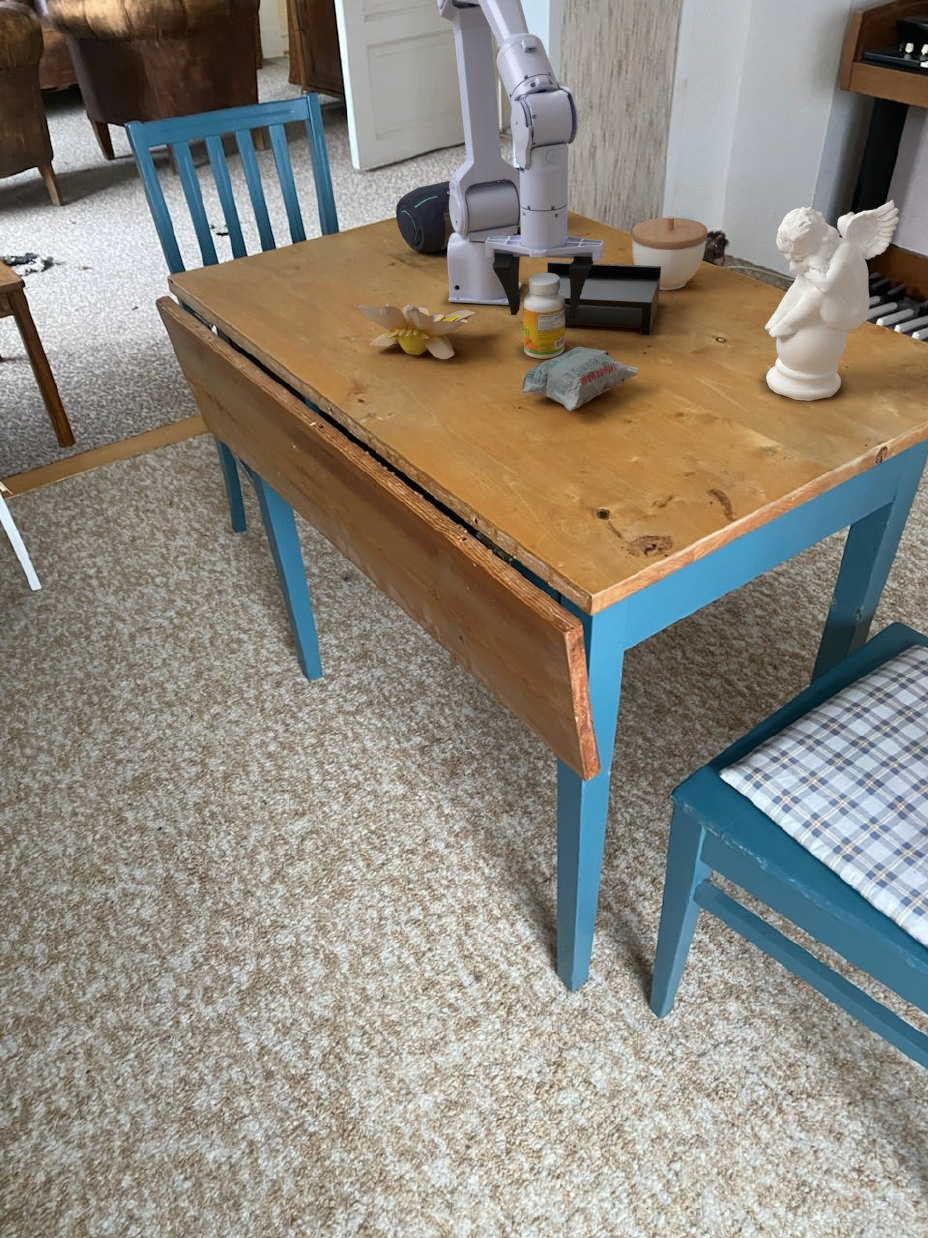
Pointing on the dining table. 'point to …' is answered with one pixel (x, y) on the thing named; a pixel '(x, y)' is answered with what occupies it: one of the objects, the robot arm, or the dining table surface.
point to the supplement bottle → (544, 317)
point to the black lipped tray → (613, 295)
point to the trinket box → (670, 248)
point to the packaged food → (577, 376)
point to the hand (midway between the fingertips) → (544, 313)
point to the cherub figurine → (823, 295)
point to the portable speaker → (428, 216)
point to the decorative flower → (415, 328)
